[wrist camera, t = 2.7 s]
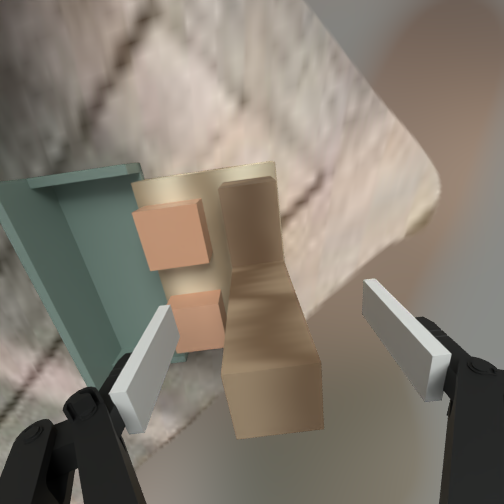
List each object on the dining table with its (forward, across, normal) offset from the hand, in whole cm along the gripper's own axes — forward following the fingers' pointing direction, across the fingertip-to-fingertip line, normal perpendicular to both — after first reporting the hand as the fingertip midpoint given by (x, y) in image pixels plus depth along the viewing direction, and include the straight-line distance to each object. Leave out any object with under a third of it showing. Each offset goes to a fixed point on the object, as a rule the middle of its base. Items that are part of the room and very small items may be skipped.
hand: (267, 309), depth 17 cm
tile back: (+7, +7, +4) cm, 11 cm away
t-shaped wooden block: (+7, 0, 0) cm, 7 cm away
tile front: (+7, +7, -4) cm, 11 cm away
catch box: (+10, +14, 0) cm, 18 cm away
